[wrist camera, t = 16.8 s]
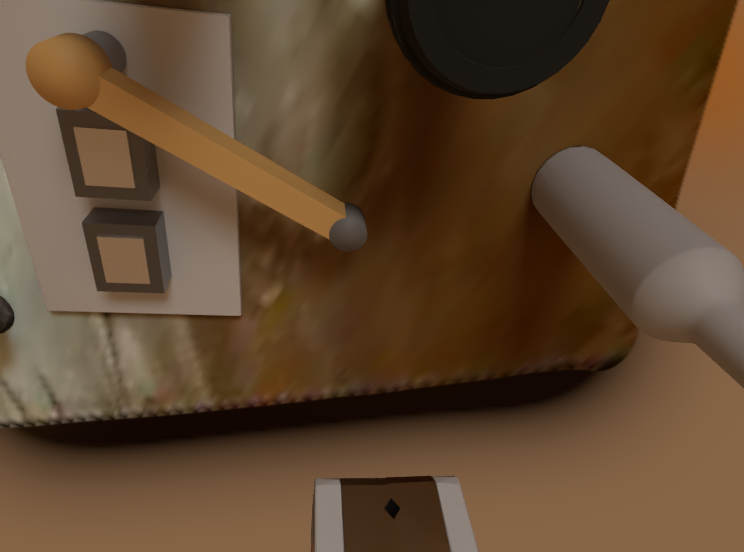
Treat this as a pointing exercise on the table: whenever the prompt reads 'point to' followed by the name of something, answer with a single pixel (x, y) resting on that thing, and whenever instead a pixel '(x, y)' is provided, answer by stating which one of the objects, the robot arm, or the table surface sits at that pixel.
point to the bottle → (645, 254)
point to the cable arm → (184, 135)
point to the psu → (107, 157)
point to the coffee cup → (491, 41)
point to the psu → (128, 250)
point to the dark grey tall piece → (5, 315)
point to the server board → (177, 177)
